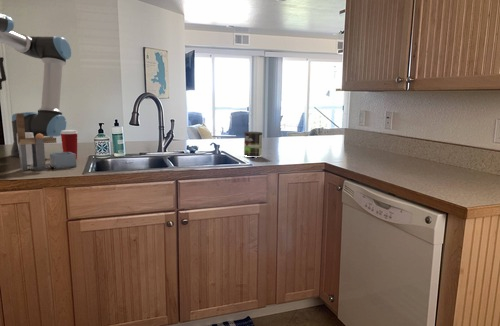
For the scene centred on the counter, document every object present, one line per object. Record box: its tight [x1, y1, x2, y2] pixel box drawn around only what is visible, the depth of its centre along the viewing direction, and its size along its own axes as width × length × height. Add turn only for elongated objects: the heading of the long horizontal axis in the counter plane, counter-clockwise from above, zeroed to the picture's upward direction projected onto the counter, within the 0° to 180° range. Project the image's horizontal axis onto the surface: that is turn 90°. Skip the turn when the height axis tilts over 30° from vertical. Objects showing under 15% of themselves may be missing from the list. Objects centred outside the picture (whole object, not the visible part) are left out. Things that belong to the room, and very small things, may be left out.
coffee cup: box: [60, 129, 79, 161], centre depth 191 cm, size 8×8×15 cm
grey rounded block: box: [49, 151, 78, 170], centre depth 173 cm, size 9×9×6 cm
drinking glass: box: [17, 132, 34, 166], centre depth 175 cm, size 7×7×15 cm
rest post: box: [19, 144, 29, 172], centre depth 162 cm, size 4×2×11 cm, turn 43°
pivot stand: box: [28, 139, 51, 172], centre depth 166 cm, size 9×6×14 cm, turn 43°
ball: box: [36, 133, 45, 139], centre depth 165 cm, size 3×3×3 cm
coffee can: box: [243, 131, 263, 156], centre depth 214 cm, size 10×10×14 cm
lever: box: [15, 112, 57, 145], centre depth 164 cm, size 6×14×13 cm, turn 133°
